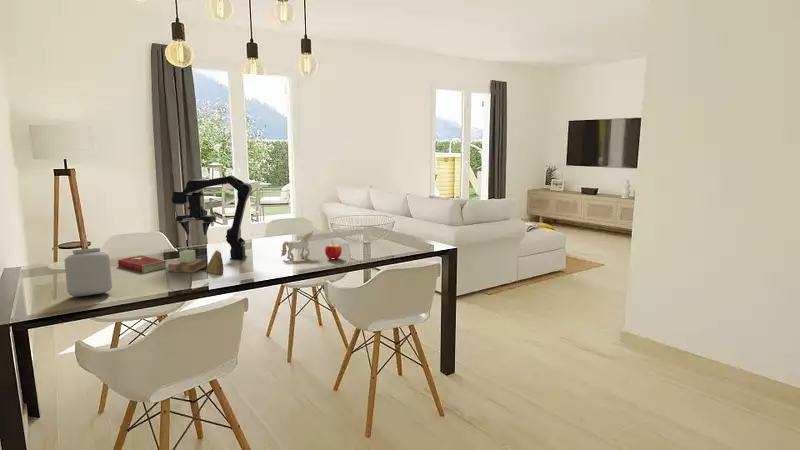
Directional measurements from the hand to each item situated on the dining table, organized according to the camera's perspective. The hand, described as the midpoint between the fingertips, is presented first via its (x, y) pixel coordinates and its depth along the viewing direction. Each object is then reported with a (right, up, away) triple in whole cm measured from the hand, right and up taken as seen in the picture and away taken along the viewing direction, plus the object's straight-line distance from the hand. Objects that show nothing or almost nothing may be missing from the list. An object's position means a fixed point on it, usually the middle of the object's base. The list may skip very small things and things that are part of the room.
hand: (196, 234), depth 253 cm
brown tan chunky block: (+19, -17, -25) cm, 36 cm away
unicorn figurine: (+51, -12, +7) cm, 53 cm away
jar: (-17, -23, -60) cm, 66 cm away
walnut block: (+3, -16, -18) cm, 25 cm away
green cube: (+4, -12, -19) cm, 23 cm away
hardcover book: (-19, -16, -16) cm, 30 cm away
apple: (+70, -13, +4) cm, 71 cm away
